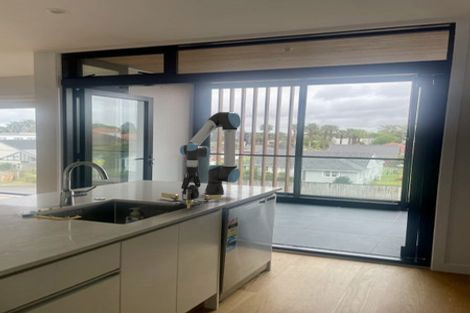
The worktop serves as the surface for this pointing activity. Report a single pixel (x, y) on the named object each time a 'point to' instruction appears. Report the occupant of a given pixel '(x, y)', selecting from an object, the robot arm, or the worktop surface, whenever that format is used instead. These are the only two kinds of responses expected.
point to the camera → (192, 192)
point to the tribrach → (198, 202)
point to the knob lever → (170, 196)
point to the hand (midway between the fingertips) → (190, 197)
